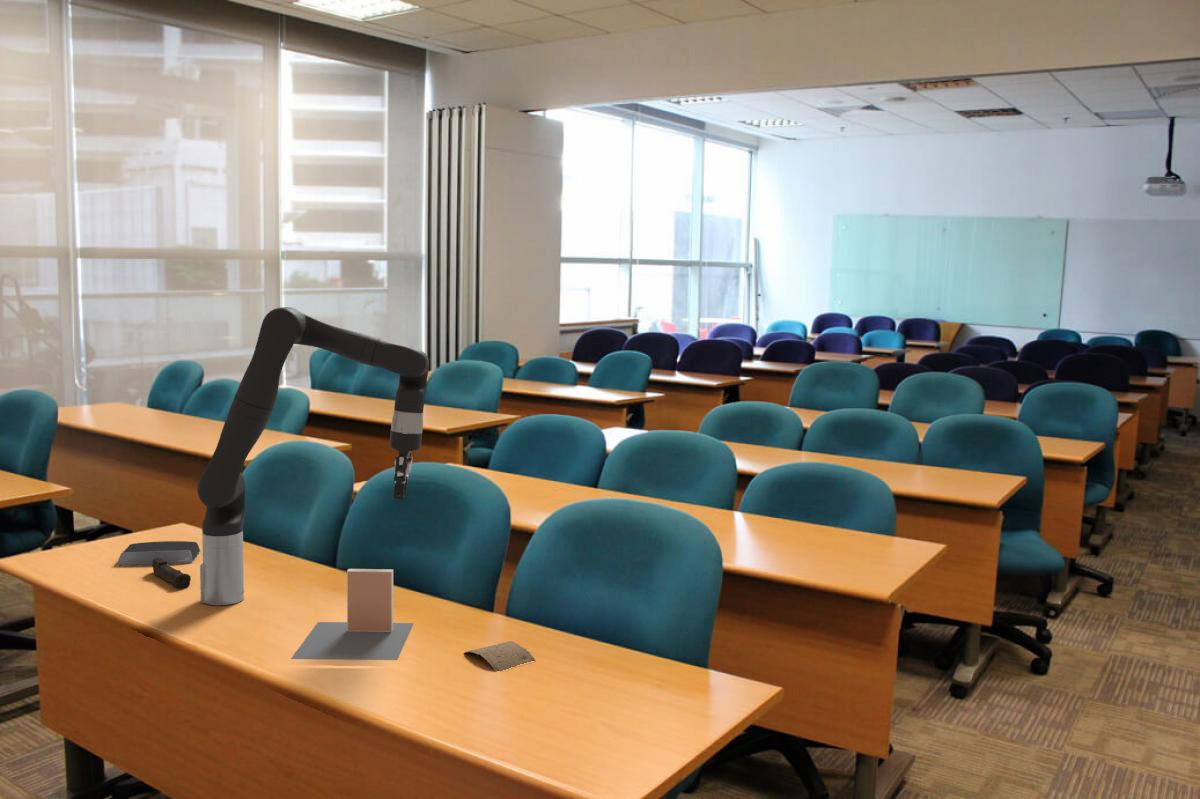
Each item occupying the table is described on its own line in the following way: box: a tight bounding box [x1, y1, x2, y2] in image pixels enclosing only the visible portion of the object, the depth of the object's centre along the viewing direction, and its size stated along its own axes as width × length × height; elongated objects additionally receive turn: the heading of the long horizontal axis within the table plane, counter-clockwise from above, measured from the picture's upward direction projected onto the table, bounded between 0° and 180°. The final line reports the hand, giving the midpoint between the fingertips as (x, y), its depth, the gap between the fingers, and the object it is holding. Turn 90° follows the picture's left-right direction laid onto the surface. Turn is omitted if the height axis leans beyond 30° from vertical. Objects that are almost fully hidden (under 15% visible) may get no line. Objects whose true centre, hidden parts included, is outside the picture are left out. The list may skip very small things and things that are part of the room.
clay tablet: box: [464, 640, 536, 673], centre depth 204 cm, size 14×10×3 cm
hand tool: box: [151, 558, 192, 590], centre depth 250 cm, size 19×4×5 cm, turn 43°
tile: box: [346, 568, 394, 632], centre depth 216 cm, size 10×2×14 cm, turn 92°
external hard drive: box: [117, 540, 201, 566], centre depth 269 cm, size 13×19×4 cm
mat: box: [290, 621, 414, 661], centre depth 210 cm, size 22×22×1 cm
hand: (399, 496), depth 233 cm, fingers open, 8 cm apart
